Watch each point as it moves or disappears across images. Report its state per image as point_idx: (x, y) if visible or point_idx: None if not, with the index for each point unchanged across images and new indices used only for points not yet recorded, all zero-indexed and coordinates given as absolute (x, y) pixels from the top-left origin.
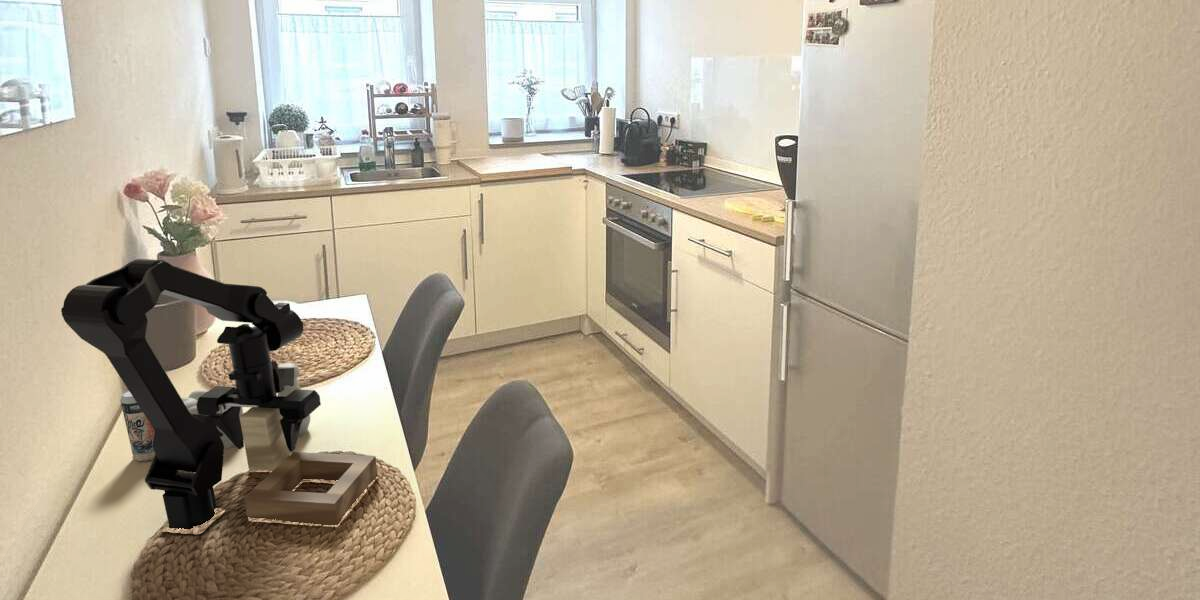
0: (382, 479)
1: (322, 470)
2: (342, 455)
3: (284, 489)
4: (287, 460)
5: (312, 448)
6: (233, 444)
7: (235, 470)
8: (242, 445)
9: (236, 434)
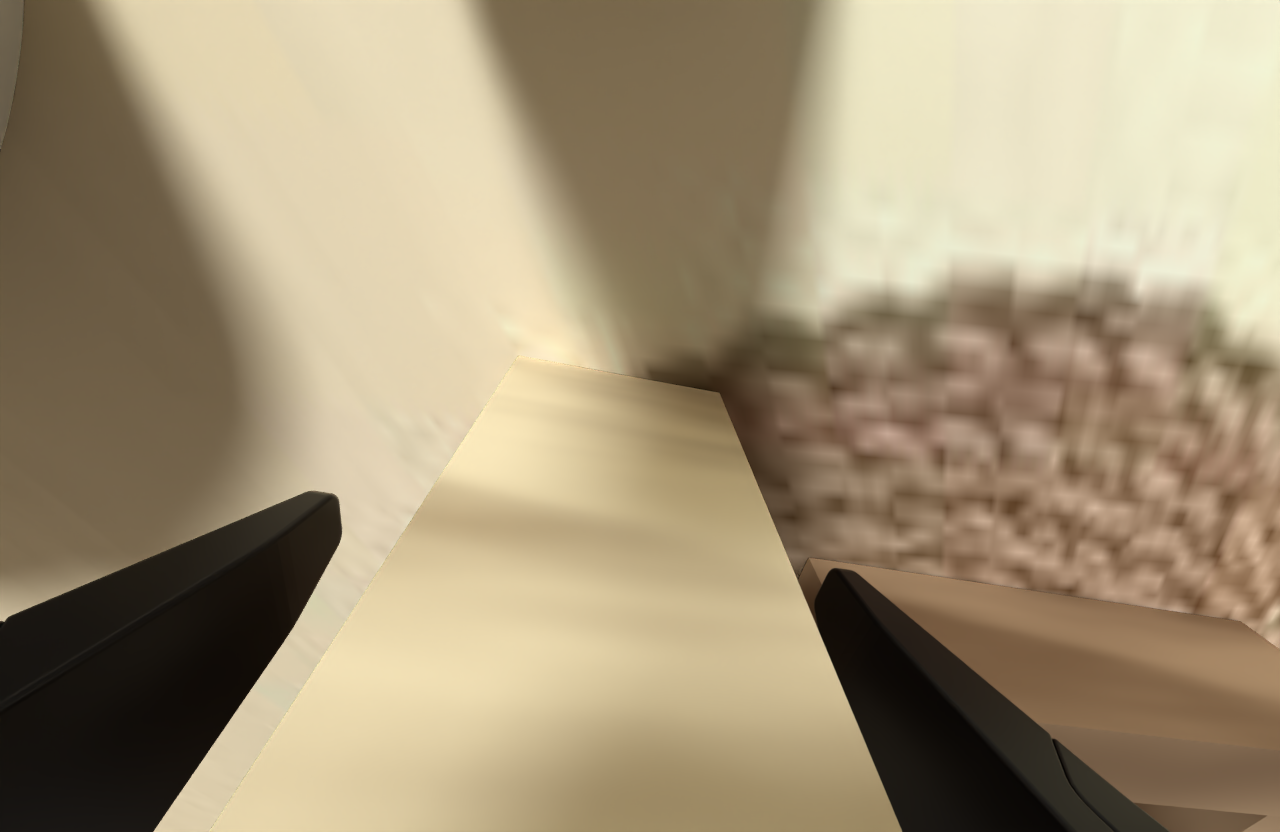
0: (1256, 627)
1: None
2: (1234, 755)
3: None
4: None
5: (881, 203)
6: (4, 22)
7: (394, 493)
8: (327, 520)
9: (205, 691)
